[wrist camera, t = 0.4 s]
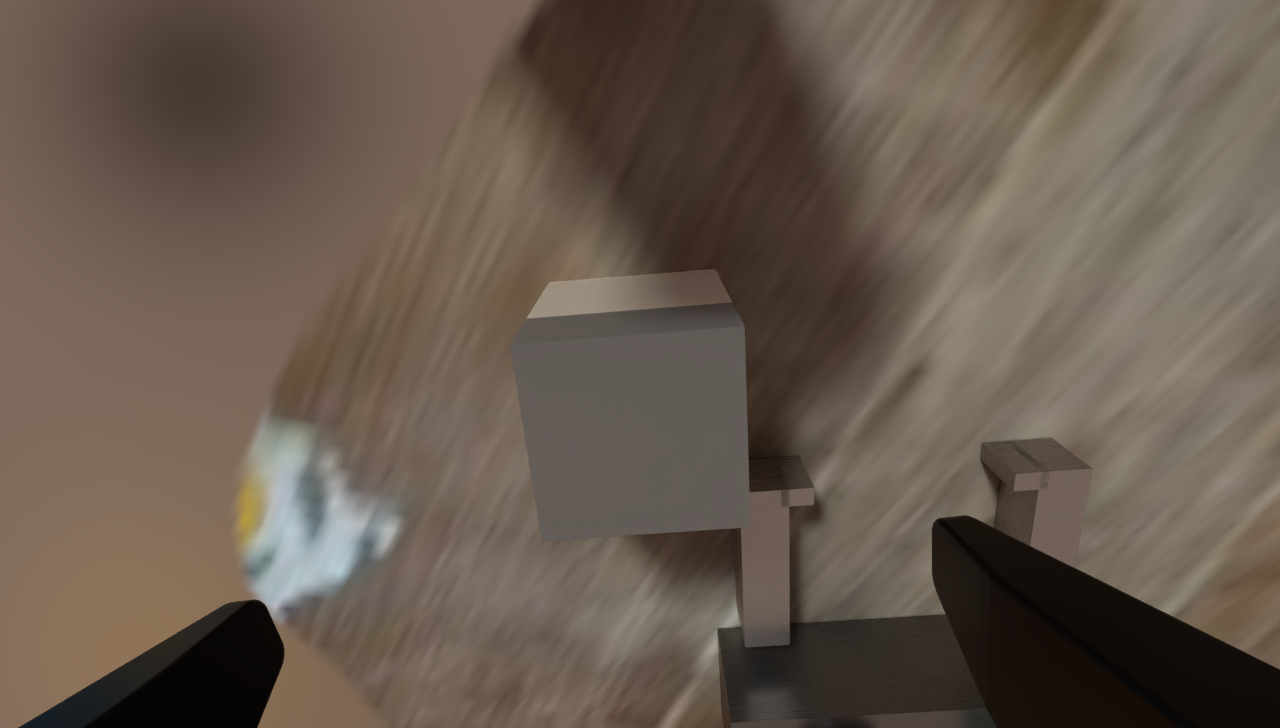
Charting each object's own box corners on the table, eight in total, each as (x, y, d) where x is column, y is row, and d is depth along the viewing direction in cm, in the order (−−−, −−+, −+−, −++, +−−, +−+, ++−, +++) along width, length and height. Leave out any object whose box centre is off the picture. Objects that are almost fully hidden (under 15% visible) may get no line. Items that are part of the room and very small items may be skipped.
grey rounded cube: (715, 268, 19) (744, 326, 13) (721, 419, 21) (750, 527, 15) (549, 282, 19) (510, 344, 13) (569, 430, 21) (541, 541, 15)
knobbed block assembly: (708, 462, 21) (726, 552, 17) (1075, 436, 21) (1195, 521, 16) (721, 709, 25) (738, 836, 20) (1031, 691, 24) (1120, 817, 20)
